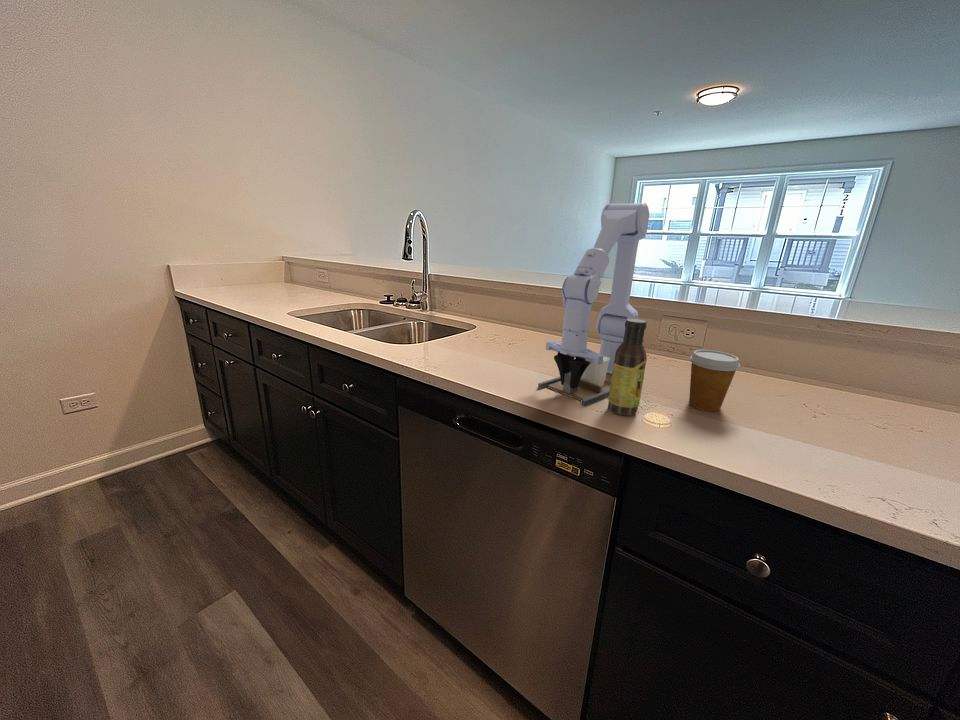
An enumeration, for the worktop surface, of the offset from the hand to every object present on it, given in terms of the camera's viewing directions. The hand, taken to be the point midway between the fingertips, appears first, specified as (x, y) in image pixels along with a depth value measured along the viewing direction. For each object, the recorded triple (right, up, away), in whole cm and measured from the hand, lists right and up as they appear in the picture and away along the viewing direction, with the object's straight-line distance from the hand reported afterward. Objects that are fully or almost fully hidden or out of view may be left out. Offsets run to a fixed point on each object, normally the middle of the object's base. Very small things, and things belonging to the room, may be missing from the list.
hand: (569, 385), depth 93 cm
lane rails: (+5, -1, +5) cm, 7 cm away
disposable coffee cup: (+30, -5, -3) cm, 30 cm away
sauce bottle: (+10, -5, -8) cm, 13 cm away
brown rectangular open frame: (+5, -1, +5) cm, 7 cm away
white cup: (+7, 0, +6) cm, 10 cm away
